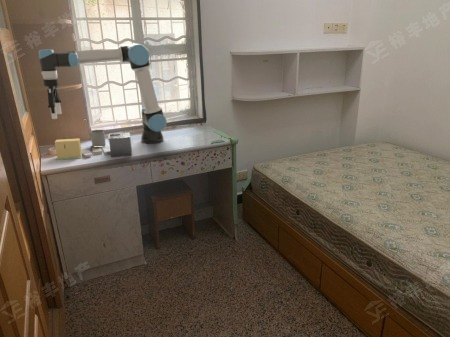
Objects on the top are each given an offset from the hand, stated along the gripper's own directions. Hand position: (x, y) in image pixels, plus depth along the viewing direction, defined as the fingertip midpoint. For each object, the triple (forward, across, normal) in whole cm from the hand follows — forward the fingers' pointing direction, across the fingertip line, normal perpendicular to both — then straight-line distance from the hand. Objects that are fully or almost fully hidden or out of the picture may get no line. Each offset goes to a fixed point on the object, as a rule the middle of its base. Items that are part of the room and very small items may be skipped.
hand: (57, 116), depth 205 cm
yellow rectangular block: (+24, +1, +4) cm, 24 cm away
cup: (+25, -19, +19) cm, 36 cm away
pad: (+25, +1, +4) cm, 25 cm away
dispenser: (+25, +2, +34) cm, 42 cm away
